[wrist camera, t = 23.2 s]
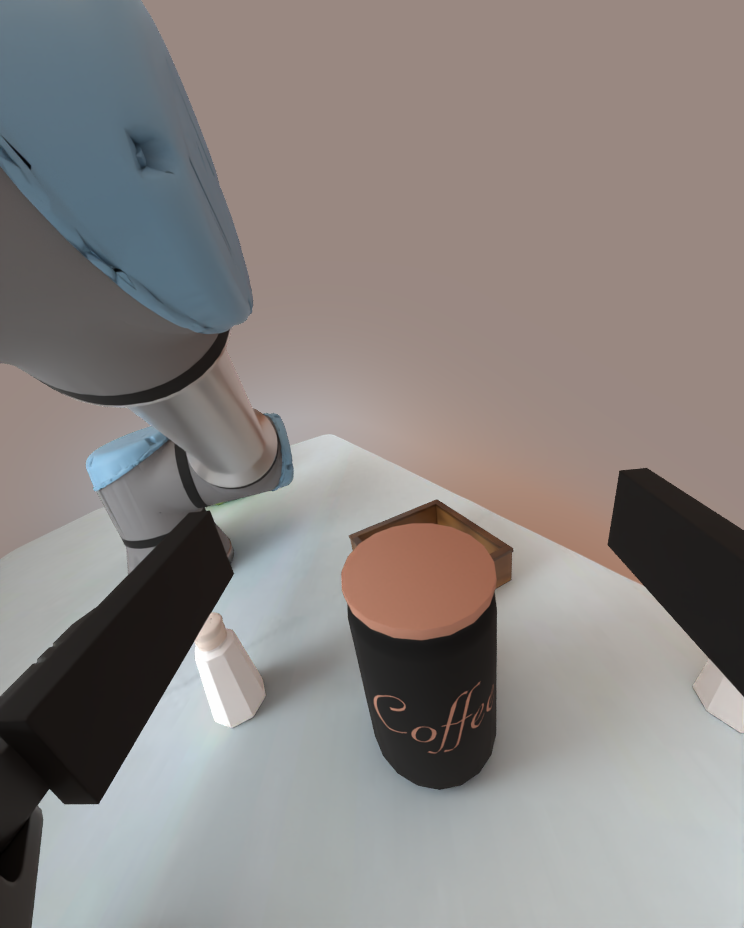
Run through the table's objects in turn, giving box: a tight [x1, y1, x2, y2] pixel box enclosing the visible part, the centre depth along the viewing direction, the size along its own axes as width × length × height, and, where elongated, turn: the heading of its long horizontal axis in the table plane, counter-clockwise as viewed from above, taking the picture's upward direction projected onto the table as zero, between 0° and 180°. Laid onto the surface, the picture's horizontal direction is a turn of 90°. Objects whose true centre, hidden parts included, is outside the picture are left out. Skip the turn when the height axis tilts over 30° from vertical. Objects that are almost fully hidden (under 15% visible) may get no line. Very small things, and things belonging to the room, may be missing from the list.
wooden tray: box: [349, 499, 513, 589], centre depth 49 cm, size 16×16×5 cm
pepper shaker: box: [194, 613, 266, 728], centre depth 34 cm, size 5×5×11 cm
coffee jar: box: [341, 523, 497, 790], centre depth 28 cm, size 11×11×18 cm
